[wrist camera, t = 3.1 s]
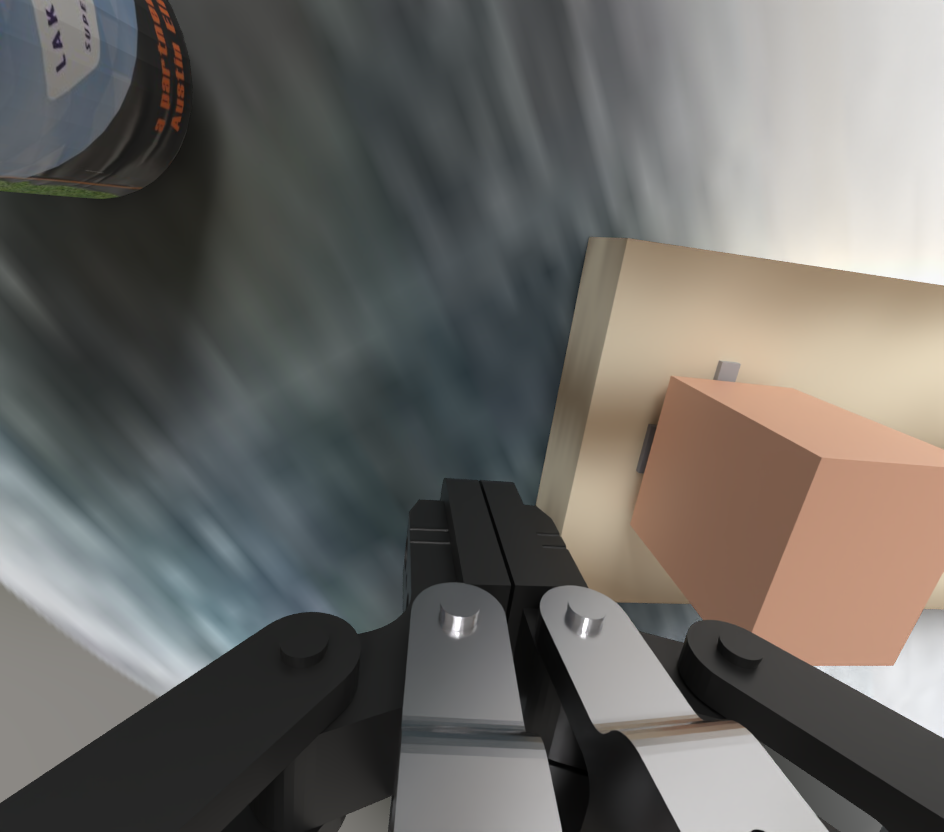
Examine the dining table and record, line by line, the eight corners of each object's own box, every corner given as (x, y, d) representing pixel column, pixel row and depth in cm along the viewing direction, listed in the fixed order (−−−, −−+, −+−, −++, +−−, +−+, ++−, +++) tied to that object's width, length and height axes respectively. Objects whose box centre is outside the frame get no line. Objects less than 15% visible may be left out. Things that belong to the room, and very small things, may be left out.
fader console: (589, 236, 16) (631, 238, 13) (1187, 325, 20) (1320, 342, 17) (526, 549, 20) (548, 604, 17) (1038, 569, 24) (1127, 616, 21)
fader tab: (671, 375, 14) (822, 457, 9) (792, 387, 15) (997, 471, 10) (629, 524, 16) (738, 665, 11) (741, 530, 17) (893, 665, 12)
